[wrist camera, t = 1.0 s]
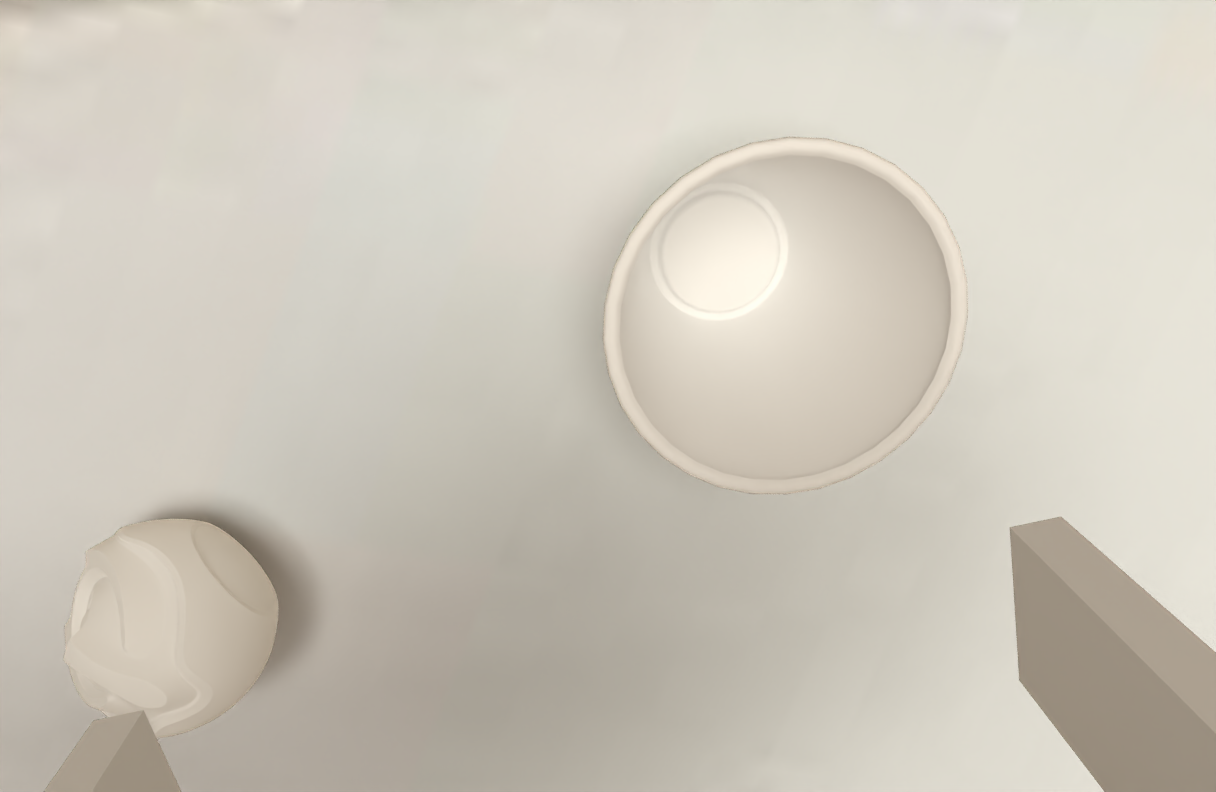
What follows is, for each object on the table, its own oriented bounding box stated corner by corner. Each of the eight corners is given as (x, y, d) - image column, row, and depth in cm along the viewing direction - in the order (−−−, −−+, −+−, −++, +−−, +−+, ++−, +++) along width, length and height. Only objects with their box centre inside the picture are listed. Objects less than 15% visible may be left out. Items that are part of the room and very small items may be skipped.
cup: (540, 298, 35) (535, 394, 25) (678, 61, 33) (735, 58, 22) (754, 418, 37) (831, 552, 27) (898, 204, 35) (1045, 262, 24)
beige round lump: (138, 458, 37) (35, 555, 29) (325, 521, 38) (271, 629, 31) (91, 621, 39) (-16, 748, 32) (268, 675, 40) (206, 809, 33)
